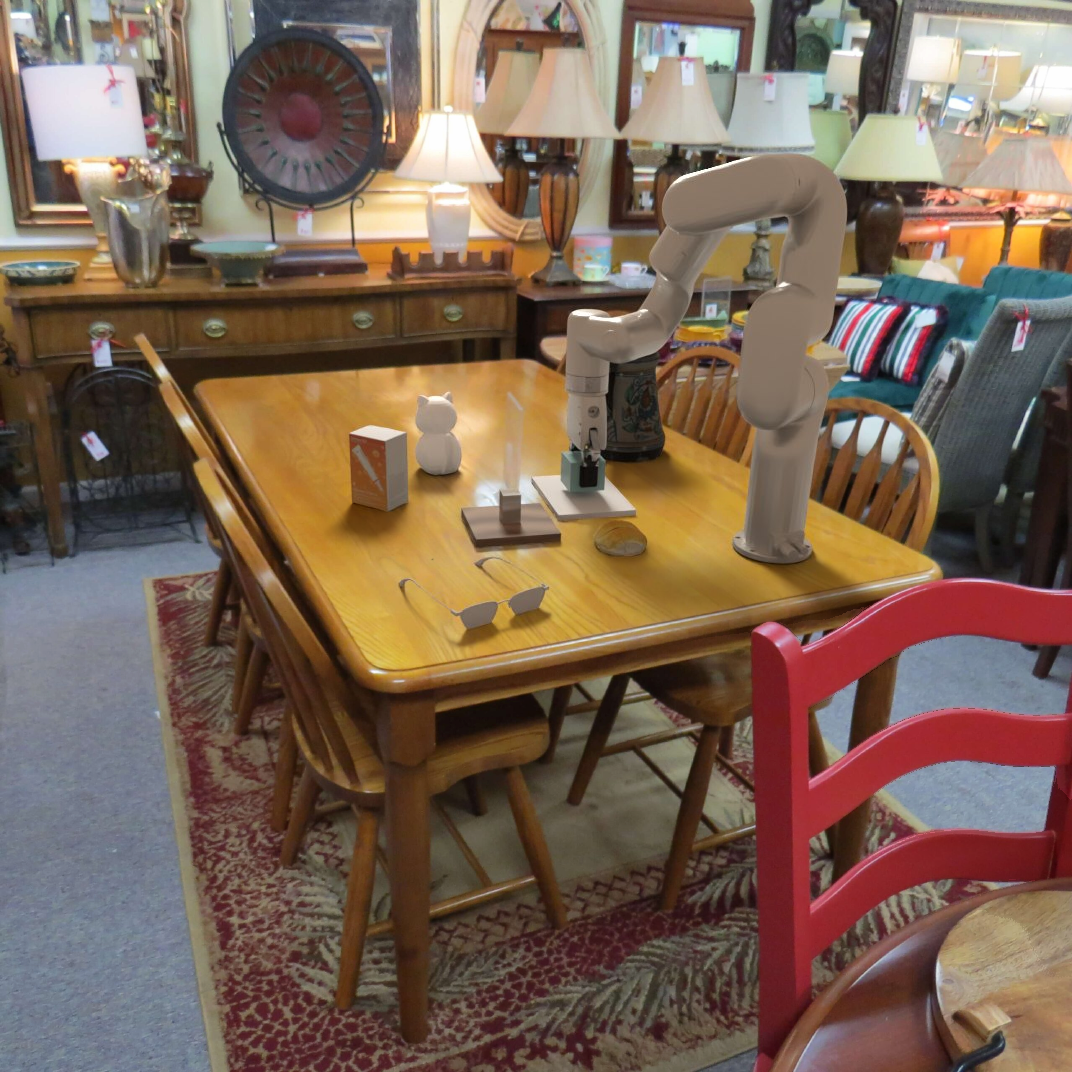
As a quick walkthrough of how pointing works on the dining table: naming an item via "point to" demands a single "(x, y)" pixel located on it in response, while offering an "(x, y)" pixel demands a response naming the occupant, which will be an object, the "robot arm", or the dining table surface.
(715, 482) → the dining table surface
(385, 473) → the small box
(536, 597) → the eyeglasses
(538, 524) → the post stand
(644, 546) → the bread roll
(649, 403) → the beer stein
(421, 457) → the cat figurine
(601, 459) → the cube
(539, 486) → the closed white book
